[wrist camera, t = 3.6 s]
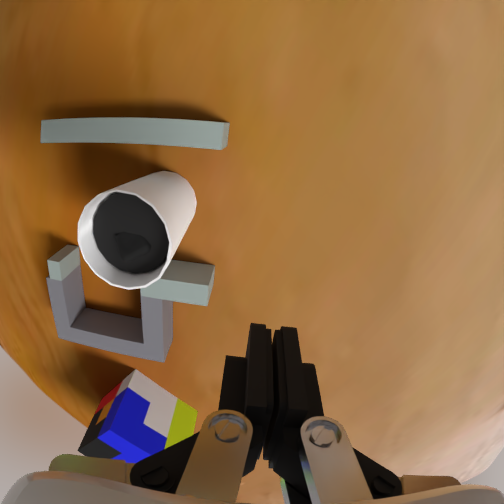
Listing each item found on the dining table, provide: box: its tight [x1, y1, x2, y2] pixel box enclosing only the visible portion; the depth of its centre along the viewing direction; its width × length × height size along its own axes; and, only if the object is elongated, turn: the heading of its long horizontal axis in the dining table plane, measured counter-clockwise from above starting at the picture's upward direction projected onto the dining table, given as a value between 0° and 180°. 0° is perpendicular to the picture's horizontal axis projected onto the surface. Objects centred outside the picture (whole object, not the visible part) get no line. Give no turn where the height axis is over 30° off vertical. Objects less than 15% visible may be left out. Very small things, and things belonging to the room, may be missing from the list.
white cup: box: [78, 171, 197, 290], centre depth 24 cm, size 7×7×10 cm
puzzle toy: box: [78, 369, 198, 463], centre depth 34 cm, size 10×10×10 cm
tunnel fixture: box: [41, 117, 230, 362], centre depth 27 cm, size 30×22×5 cm
